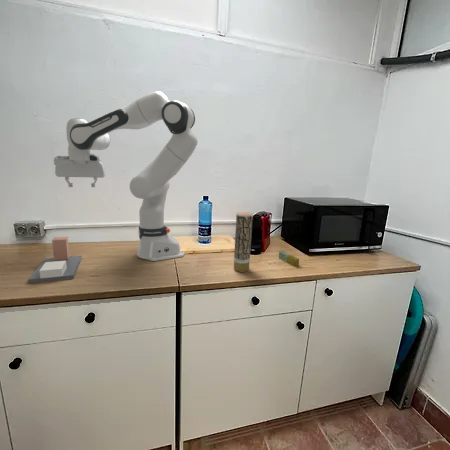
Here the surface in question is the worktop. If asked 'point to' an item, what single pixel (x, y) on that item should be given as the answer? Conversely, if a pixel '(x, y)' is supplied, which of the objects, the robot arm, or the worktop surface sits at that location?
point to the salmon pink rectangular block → (60, 248)
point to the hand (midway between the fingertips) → (82, 187)
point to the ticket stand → (56, 269)
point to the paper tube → (242, 241)
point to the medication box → (289, 258)
